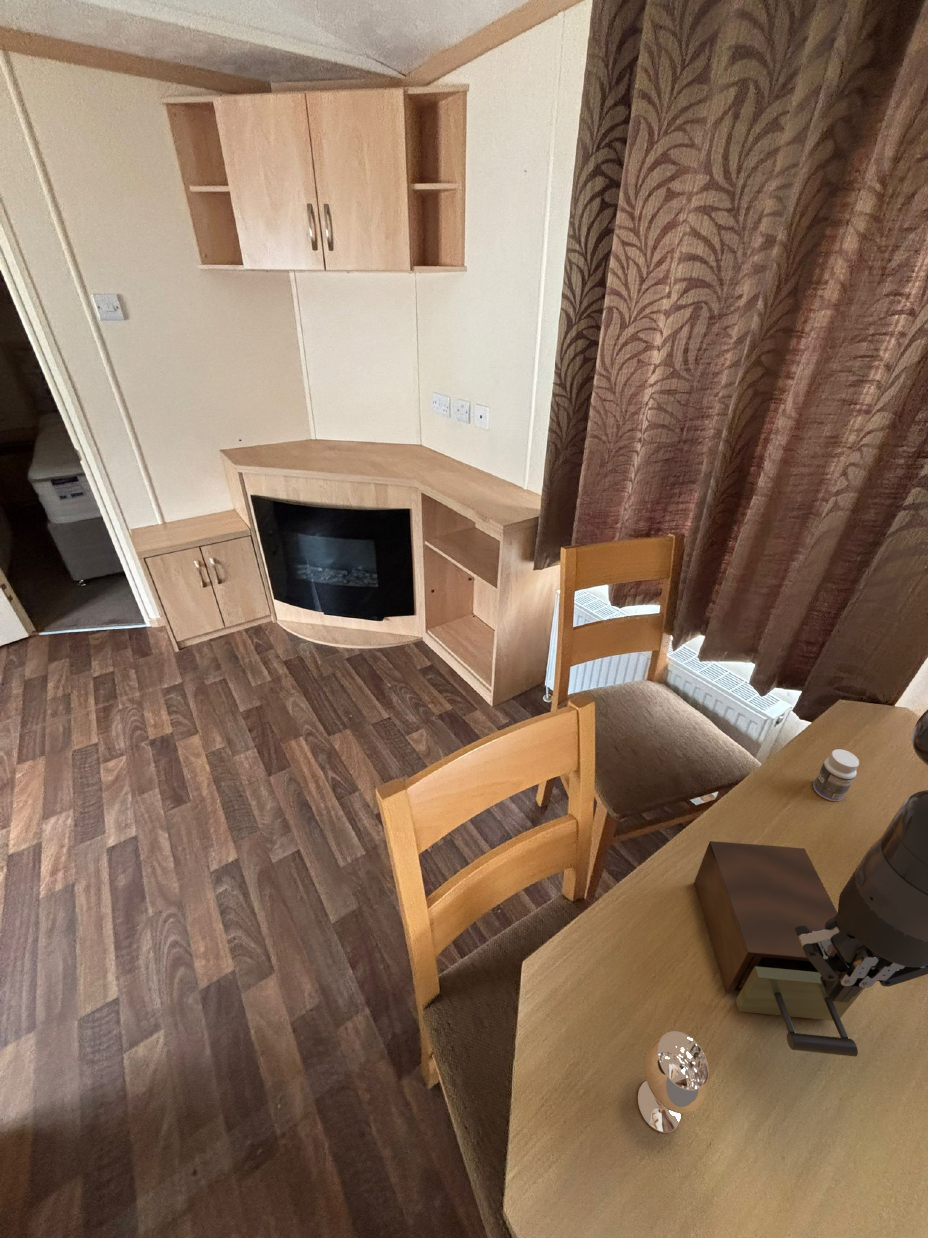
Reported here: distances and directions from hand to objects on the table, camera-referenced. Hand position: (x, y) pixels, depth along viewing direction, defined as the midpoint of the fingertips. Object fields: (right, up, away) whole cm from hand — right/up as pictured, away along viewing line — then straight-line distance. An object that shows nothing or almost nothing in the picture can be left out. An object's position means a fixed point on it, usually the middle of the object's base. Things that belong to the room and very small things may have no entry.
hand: (834, 991), depth 55 cm
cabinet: (+1, -5, +17) cm, 18 cm away
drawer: (+1, -7, +12) cm, 14 cm away
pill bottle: (+26, +8, +38) cm, 47 cm away
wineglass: (-18, -14, +2) cm, 23 cm away
